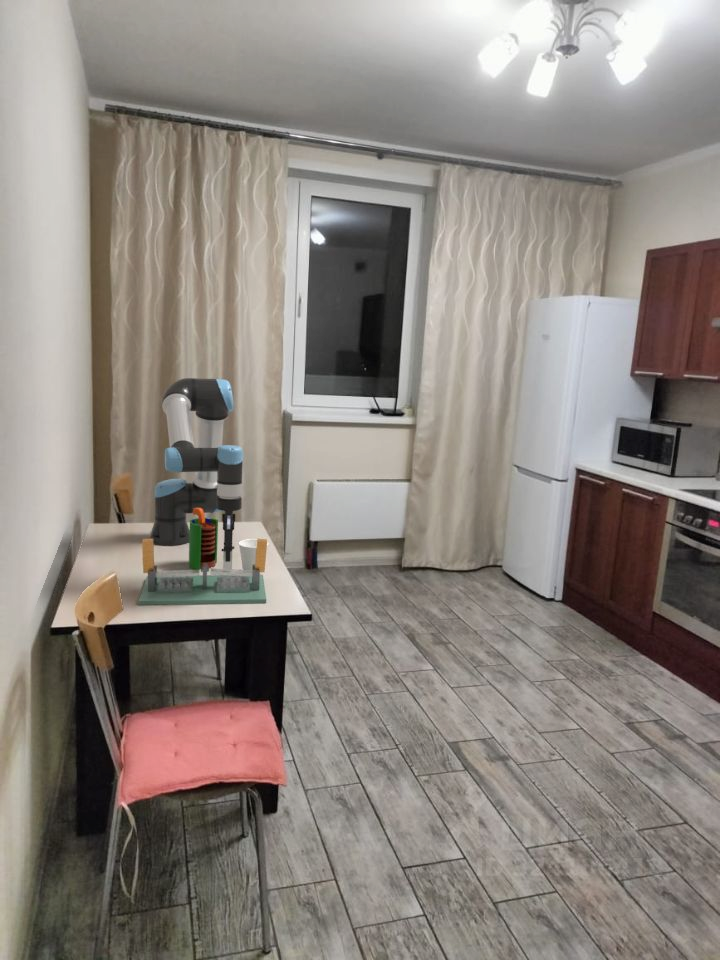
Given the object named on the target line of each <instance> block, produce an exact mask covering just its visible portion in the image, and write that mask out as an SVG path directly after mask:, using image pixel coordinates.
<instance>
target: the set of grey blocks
mask: <svg viewBox="0 0 720 960" xmlns="http://www.w3.org/2000/svg"><path fill="white" fill-rule="evenodd" d="M154 568H155V570H151V571H148V573H147V576H148V592H155V586H157V578H155V571H158V564H154ZM254 569H255V564H253V567H252V570H253V577H252V585H253V590H259V582H260V570H254ZM200 572H201V573H202V575H203V589H207V575H208V573H209V572H210V568H209V566H207V563H203V566H201V569H200ZM192 588H193V578H189V576H186V578H182V577H179V578H175V577H172V578H167V577H164V578H161V579H160V583H159V586H158V594H161V593H192ZM235 592H250V584H249V577H245V576H243V577H238V576H236V577H231V576H229V577H224V575H222V577H217V593H235Z"/></svg>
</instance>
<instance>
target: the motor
mask: <svg viewBox="0 0 720 960" xmlns="http://www.w3.org/2000/svg"><path fill="white" fill-rule="evenodd" d="M192 515H194V516H195V515H196V516H198V517H197V518H192V519H190V520H189V530H190V534H189V542H188V543H189V544H188V545H189V546H188V549H189V550H188V567H189V568H191V570H200V571H201V566H203V563H207V566H209V569H211V567H213V568H215V567H216V564H217V562H218V539H219V537H218V535H219V533H218V532H219V520H218V519H216V518H211V517H205V513H204V511H203V509H202V508H194V509H193V513H192Z"/></svg>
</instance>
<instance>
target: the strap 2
mask: <svg viewBox="0 0 720 960" xmlns="http://www.w3.org/2000/svg"><path fill="white" fill-rule="evenodd" d="M256 539H257V546H256V557H255V569H254V570H260V572H262V573H265V569H266V558H267V550H268V546H267V542H268V539H267V538H256ZM266 549H267V550H266ZM209 575H229V576H251V577H253V570H243V569H233V568H232V571H223V568H214V567H213V568H210V574H209Z"/></svg>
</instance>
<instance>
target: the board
mask: <svg viewBox="0 0 720 960" xmlns="http://www.w3.org/2000/svg"><path fill="white" fill-rule="evenodd" d="M217 577H222V575H210V574H207V589H203V574H201V575H200V574H199V576H189V578H193V588H192V593H161V594H158V586H159V583H160V579H161V578H164V577H157V586H155V592H148V575H147V576H146V578H145V582H144V584H143V587H142V591H141V594H140V596H139V598H138V606H157V605H158V606H159V605H161V606H162V605H163V606H164V605H165V606H166V605H168V606H169V605H208V604H209V605H220V604H221V605H223V604H224V605H225V604H226V605H230V604H267V596H266V595H267V593H266V587H265V580H264V574H261V575H260V582H259V590H253V585H252V577H251V576H245V577H249V584H250V592H235V593H217ZM224 577H229V575H224ZM231 577H236V576H231ZM238 577H243V576H238ZM167 578H172V577H167ZM175 578H179V577H175ZM182 578H186V576H183V577H182Z"/></svg>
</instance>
